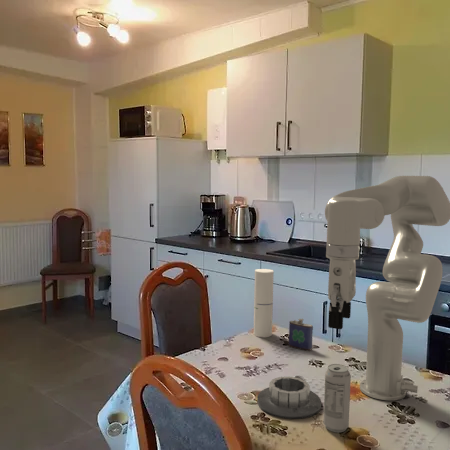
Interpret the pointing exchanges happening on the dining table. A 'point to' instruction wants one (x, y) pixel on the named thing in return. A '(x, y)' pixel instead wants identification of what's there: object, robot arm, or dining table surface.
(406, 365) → the dining table surface
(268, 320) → the cylindrical container
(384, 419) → the dining table surface
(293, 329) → the flask
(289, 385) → the rosette socket
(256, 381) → the dining table surface
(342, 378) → the energy drink can
